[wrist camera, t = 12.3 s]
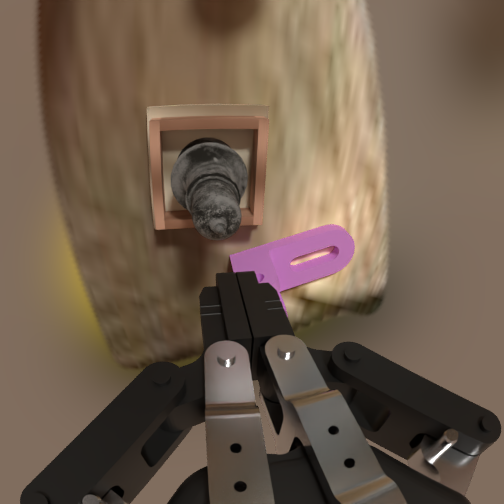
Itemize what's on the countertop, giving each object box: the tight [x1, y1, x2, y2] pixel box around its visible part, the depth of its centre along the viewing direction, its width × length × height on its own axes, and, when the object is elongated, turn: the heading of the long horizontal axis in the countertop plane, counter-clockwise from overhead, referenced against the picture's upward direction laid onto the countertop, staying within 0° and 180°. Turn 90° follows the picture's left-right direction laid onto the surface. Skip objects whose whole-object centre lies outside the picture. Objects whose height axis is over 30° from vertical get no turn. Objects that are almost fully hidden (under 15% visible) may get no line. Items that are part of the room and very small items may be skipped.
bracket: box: [230, 224, 355, 317], centre depth 32 cm, size 13×6×7 cm, turn 105°
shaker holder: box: [147, 104, 269, 230], centre depth 27 cm, size 11×10×3 cm
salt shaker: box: [171, 138, 248, 240], centre depth 22 cm, size 6×6×12 cm
